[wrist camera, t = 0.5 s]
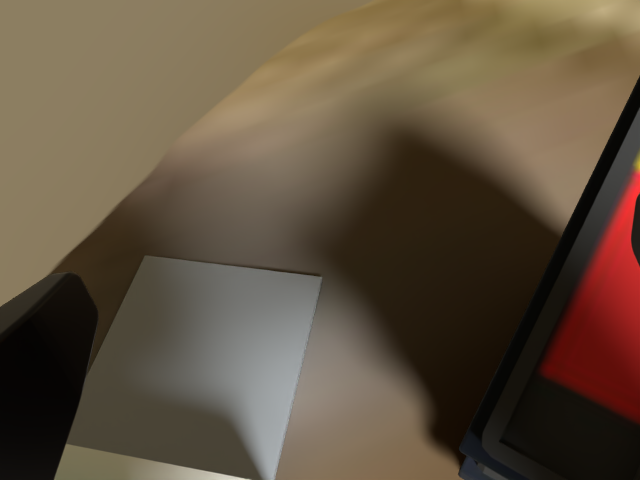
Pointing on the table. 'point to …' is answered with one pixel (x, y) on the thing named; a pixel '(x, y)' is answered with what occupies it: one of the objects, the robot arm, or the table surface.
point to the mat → (200, 367)
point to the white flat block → (124, 467)
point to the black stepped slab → (574, 345)
